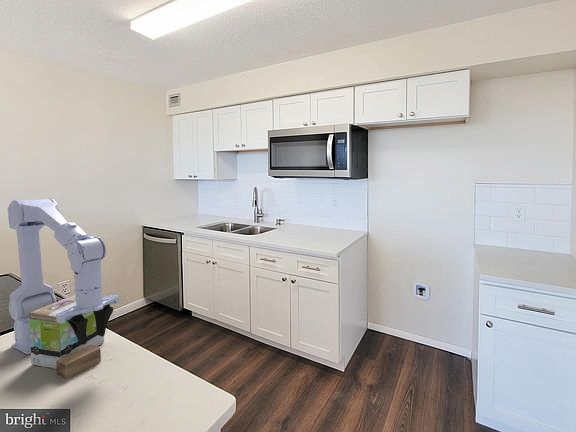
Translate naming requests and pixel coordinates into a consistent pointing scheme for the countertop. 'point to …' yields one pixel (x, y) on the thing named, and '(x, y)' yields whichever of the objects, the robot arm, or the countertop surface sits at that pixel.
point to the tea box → (57, 334)
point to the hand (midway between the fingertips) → (91, 339)
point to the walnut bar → (78, 361)
